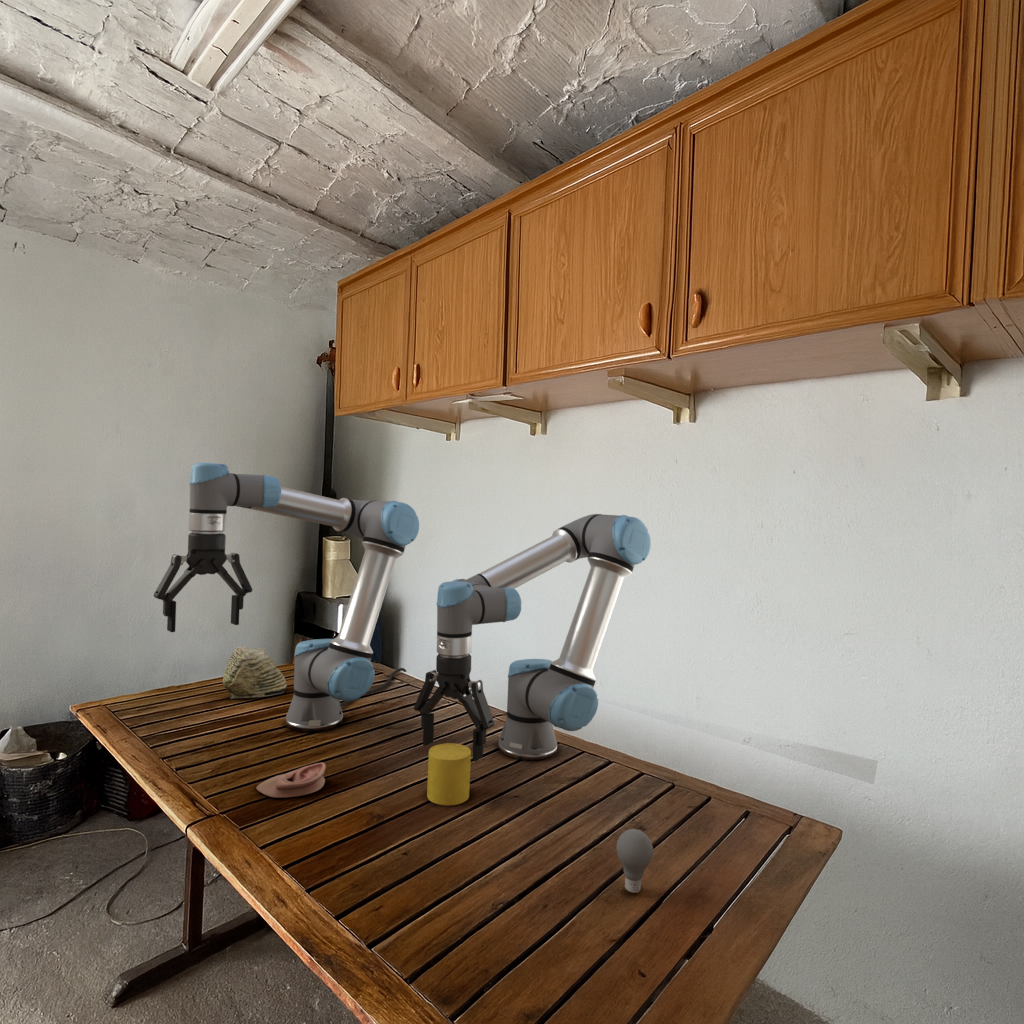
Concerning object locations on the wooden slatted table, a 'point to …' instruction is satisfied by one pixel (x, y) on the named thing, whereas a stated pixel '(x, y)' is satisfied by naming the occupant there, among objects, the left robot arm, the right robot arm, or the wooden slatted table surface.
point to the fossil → (252, 674)
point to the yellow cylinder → (448, 774)
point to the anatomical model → (295, 782)
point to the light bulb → (634, 857)
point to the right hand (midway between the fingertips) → (452, 751)
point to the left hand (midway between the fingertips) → (204, 627)
